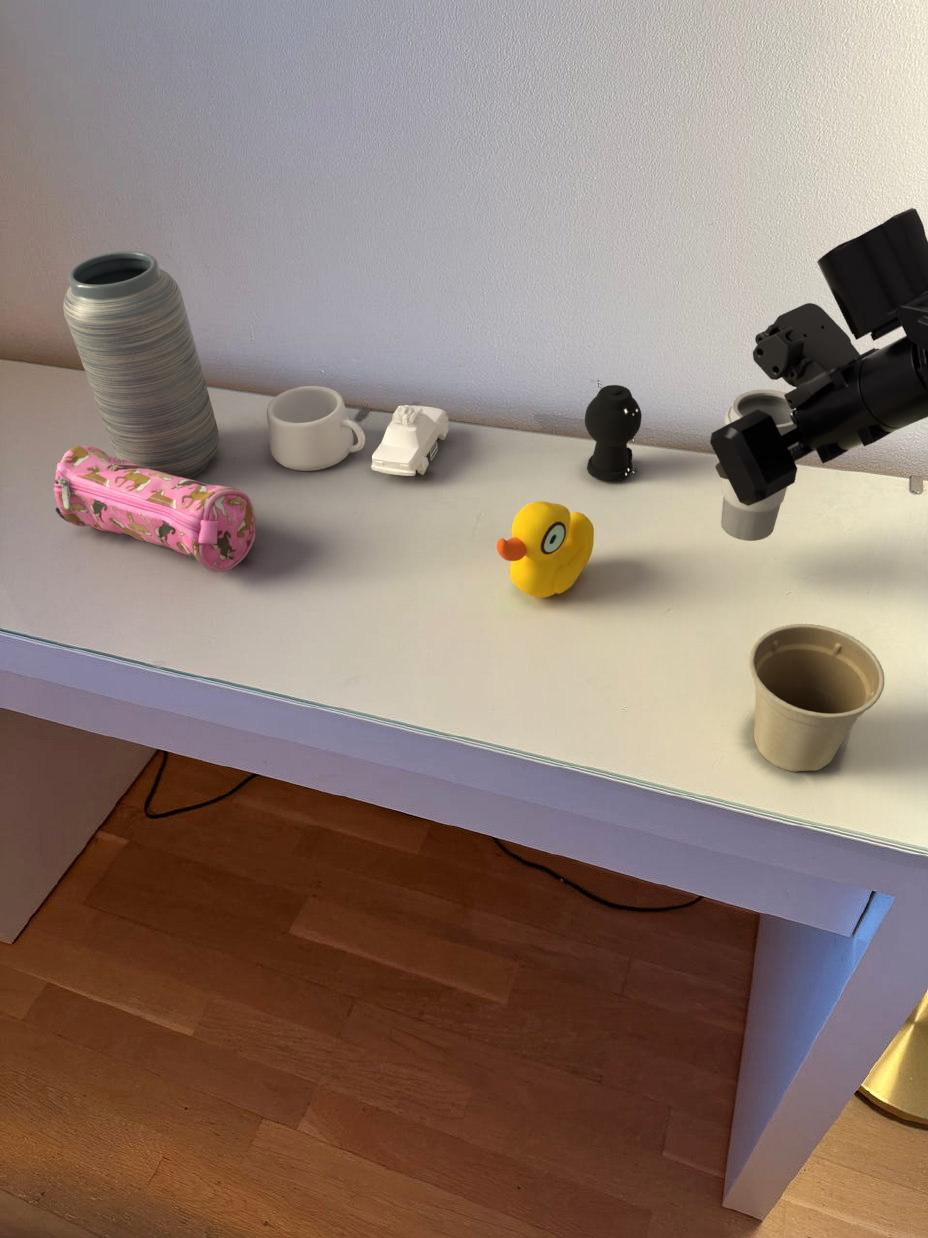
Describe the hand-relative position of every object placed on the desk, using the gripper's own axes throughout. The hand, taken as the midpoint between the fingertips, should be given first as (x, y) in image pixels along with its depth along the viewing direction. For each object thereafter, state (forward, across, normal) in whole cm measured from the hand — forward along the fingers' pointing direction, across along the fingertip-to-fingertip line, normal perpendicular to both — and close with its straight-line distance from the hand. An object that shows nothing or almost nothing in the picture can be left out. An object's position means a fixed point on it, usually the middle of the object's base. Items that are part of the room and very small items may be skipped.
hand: (746, 456), depth 80 cm
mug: (+40, +20, -22) cm, 50 cm away
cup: (+4, 0, +6) cm, 7 cm away
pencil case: (+37, +41, -19) cm, 58 cm away
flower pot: (-3, +11, +22) cm, 25 cm away
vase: (+46, +34, -29) cm, 64 cm away
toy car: (+34, +12, -16) cm, 40 cm away
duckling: (+16, +15, +3) cm, 22 cm away
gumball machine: (+23, -3, -4) cm, 23 cm away
